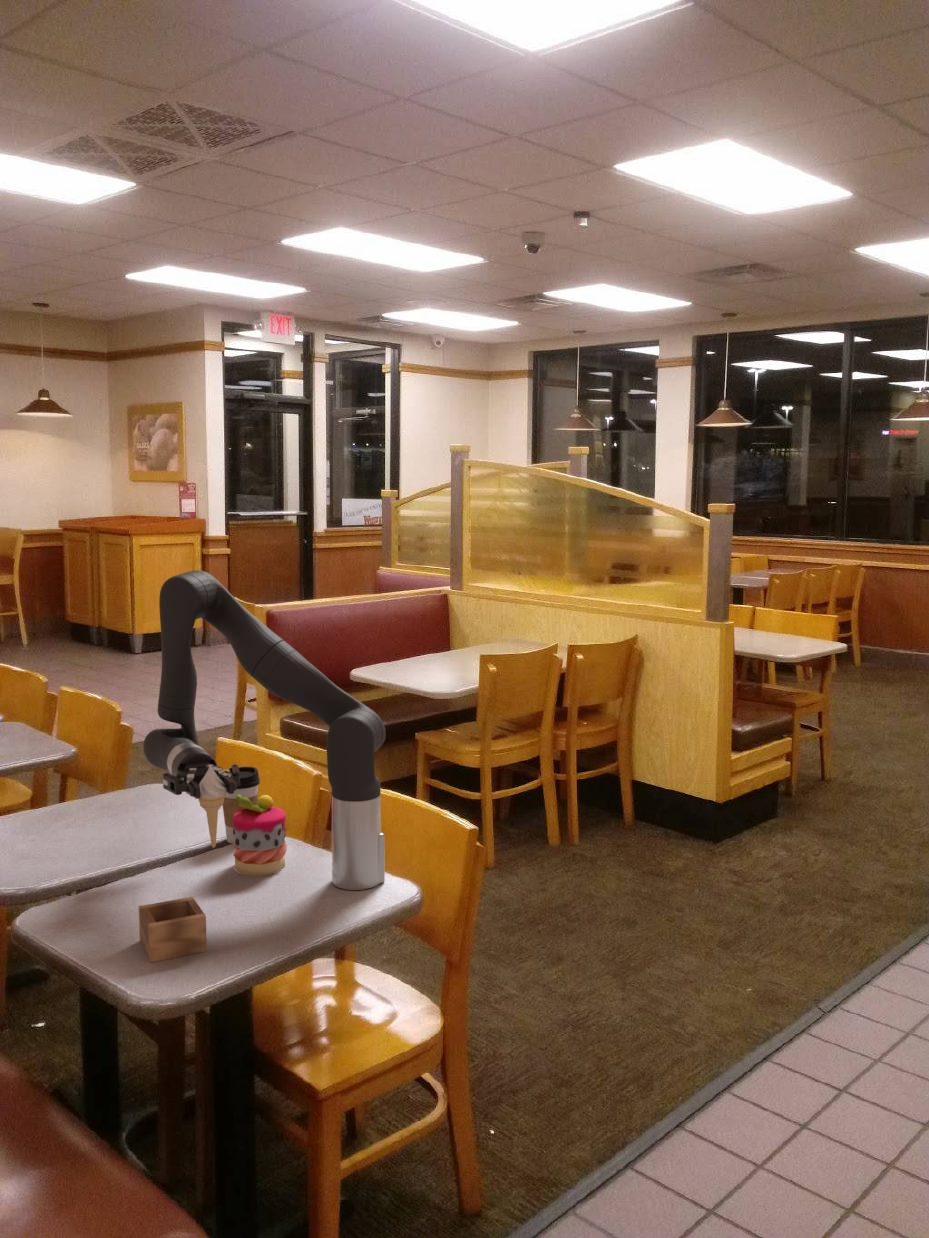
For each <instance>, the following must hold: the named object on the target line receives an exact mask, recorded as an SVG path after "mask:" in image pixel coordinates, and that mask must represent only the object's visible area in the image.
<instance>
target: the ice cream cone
mask: <svg viewBox="0 0 929 1238" xmlns="http://www.w3.org/2000/svg"><path fill="white" fill-rule="evenodd" d="M199 786H200V798H199V799H198V800H197V801H198V802H199V806H200V807H201V808H202V809H203V811H205V812H206V817H207V826H208V831H209V839H210V843H211V845H210V846H211V847H212V848H215V847H216V844H217V833H218V831H217V830H218V821H219V819H218V817H219V815H218V813H219V810H220V809H221V807H223V804H224V803H223V802H224V798H225V796H226V795H227V790H228V789H227V788H225V786H226V785H225V784H224V783H223V782H222V780H221V779H219V777H218V775H217V774H216V773H215V771H214V770H213V768H212V766H211V765H210V767H209V769H208V771H207V773H206V774H205V776H204V777H203V779H202V780H201V782H200V783H199Z"/></svg>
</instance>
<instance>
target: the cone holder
mask: <svg viewBox="0 0 929 1238" xmlns="http://www.w3.org/2000/svg"><path fill="white" fill-rule="evenodd" d="M138 929H139V930H138V931H139V942H140V945H141V946H142V948H143V950H144V952H145V954H146V955H147V958H148V959H149V961H150V963H154V962H155V963H156V962H161V961H165V960H169V959H170V960H171V959H175V958H179V956H181V957H185V956H189V955H196V954H200V953H204V952H207V951H208V949H207V948H208V947H207V946H208V945H207V943H208V942H207V916H206V914H205V913H204V911H203V909H202V908H201V907H200V906H199V903H198V902H197V901H196V900H195V898H194V897H193V896H189V897H184V898H177V899H172V900H165V901H162V902H155V903H150V904H144V905H143V904H142V905H138Z"/></svg>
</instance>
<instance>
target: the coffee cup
mask: <svg viewBox="0 0 929 1238" xmlns="http://www.w3.org/2000/svg"><path fill="white" fill-rule="evenodd" d="M238 767H239V771H240V786H238V787H236V791H234V794H229V793H228V792H227V795H226V796H225V798H224V802H223V803H224V804H223V805H222V810H223V811H222V812H223V820H224V827H225V835H226V836H225V837H226V842H227V843H229V844H232V845H234V844H235V838H234V834H233V828H234V825H233V816H234V814H235V813H236V812H237V811H239V810H241V809H244V808H242V807H239V804H240V803H239V802H238V801H237V799H236V796H237V795H241V796H242V798H244V797H246V798H248V799H249V800H250V801H251V803H252V804H253V805H254V806H255V805H256V806H258V805H257V801H258V799H259V791H258V790H259V789H258V788H259V785H260V783H261V780H260V775H259V770H258V769H257V768H256V767H253V766H238Z"/></svg>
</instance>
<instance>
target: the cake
mask: <svg viewBox="0 0 929 1238" xmlns="http://www.w3.org/2000/svg"><path fill="white" fill-rule="evenodd" d="M236 799H237V801H238V802H239V803H240V804H239V807H242V808H244V809H241V810H239V811H237V812H236V813H235V814H234V816H233V825H234V828H233V834H234V838H235V844H232V845H233V848H234V849H235V851H234V853H233V854H232V855H233V857H234V870H235V869H236V870H237V871H238V872H237V871H236V870H235V871H236V872H237V873H239V872H240V873H239V874H241V875H245V876H252V877H258V876H260V877H261V876H262V875H263V876H268V875H273V874H276V873H275V872H277V873H278V871H279V872H280V870H281V869H283V870H284V868H285V867H286V852H287V848H288V845H287V841H286V839H285V838H286V831H287V829H286V825H285V824H286V820H287V815H286V814H287V813H286V812H285V811H284V810H283V809H281V808H280V807H276V806H273V805H274V800H273V799H272V797H271V796H270V795H267V794H262V795H261V796H258V801H257V806H256V805H255V806H254V805H253V804H252V803H251V801H250V800H249V799H248V798H246V797H244V798H242V796H241V795H237V796H236ZM281 871H282V870H281Z"/></svg>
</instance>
